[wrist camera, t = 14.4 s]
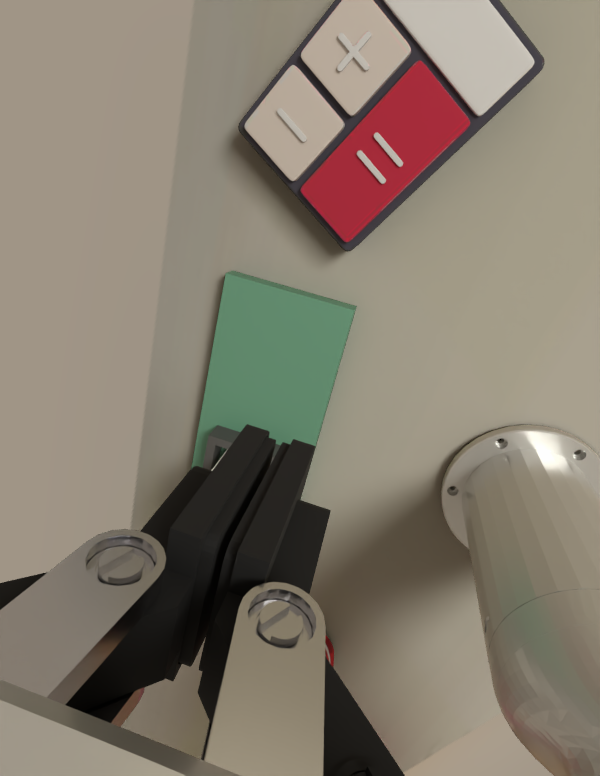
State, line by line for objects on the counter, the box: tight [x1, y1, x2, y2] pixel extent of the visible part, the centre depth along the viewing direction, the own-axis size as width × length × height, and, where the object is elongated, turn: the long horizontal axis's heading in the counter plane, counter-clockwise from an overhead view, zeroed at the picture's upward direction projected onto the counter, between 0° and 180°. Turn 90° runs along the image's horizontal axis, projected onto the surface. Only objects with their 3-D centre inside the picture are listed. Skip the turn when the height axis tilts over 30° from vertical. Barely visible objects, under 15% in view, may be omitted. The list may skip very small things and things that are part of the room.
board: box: [191, 271, 357, 496], centre depth 40 cm, size 22×10×4 cm, turn 166°
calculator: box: [239, 0, 544, 251], centre depth 30 cm, size 11×4×15 cm
